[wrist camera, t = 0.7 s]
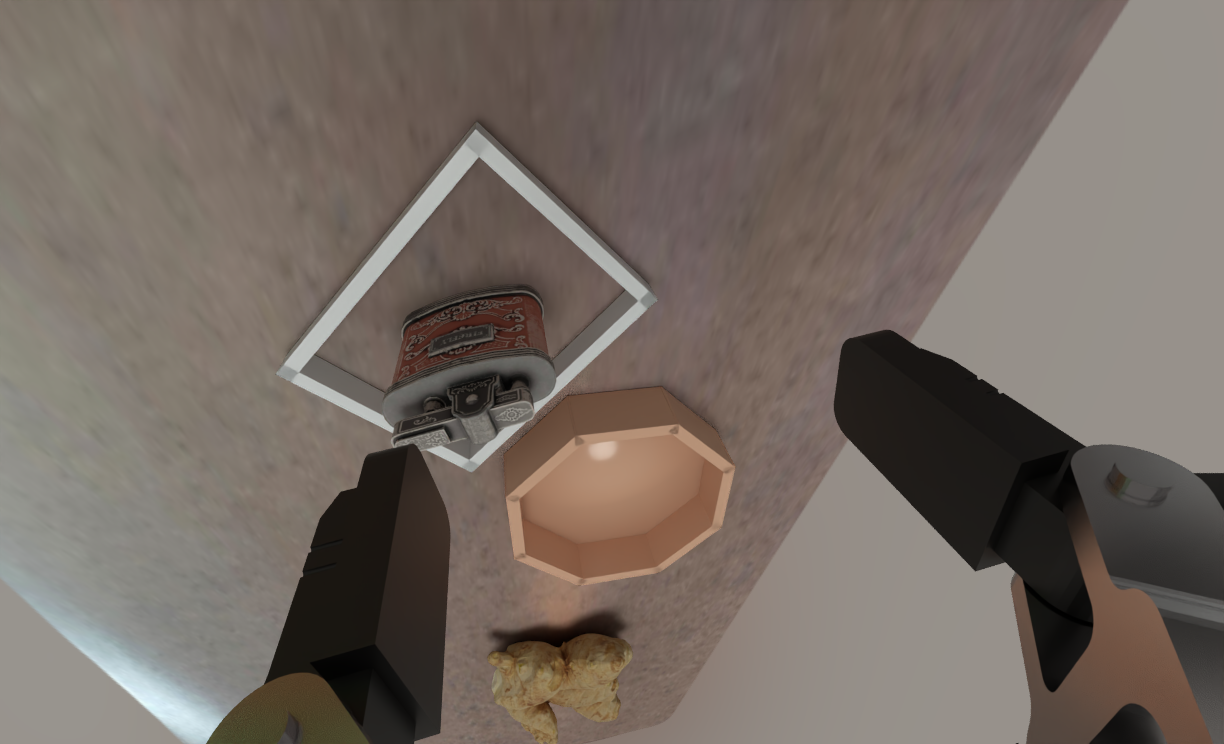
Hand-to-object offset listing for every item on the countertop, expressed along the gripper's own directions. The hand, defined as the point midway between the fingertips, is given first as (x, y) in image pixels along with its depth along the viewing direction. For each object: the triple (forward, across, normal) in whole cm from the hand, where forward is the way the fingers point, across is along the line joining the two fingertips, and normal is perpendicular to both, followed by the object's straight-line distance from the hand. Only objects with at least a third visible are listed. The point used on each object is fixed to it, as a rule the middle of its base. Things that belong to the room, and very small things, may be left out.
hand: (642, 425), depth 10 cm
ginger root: (+23, +7, +46) cm, 51 cm away
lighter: (+21, +5, +6) cm, 22 cm away
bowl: (+21, -1, +22) cm, 30 cm away
